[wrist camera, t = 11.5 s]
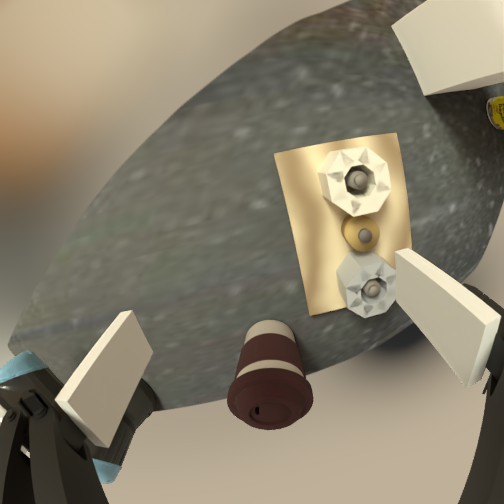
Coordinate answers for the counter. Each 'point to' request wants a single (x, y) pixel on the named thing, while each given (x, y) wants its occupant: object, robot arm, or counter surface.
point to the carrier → (341, 217)
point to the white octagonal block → (356, 200)
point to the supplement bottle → (496, 111)
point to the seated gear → (357, 274)
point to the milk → (454, 44)
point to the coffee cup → (270, 379)
